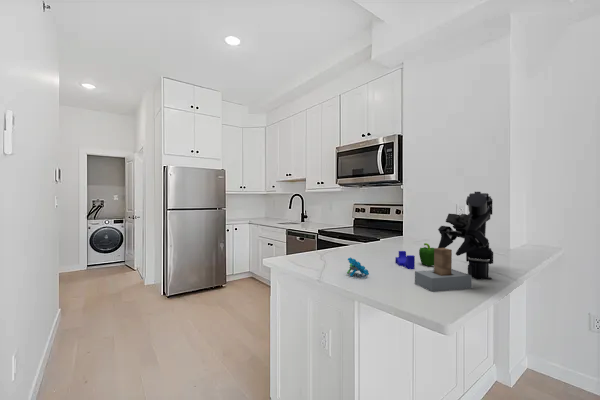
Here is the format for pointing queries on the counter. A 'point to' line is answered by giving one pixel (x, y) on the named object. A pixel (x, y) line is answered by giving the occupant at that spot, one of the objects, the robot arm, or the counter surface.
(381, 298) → the counter surface
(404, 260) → the blue stepped arch
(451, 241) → the robot arm
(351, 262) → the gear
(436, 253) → the walnut peg
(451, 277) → the grey socket block
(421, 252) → the bell pepper
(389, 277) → the counter surface
